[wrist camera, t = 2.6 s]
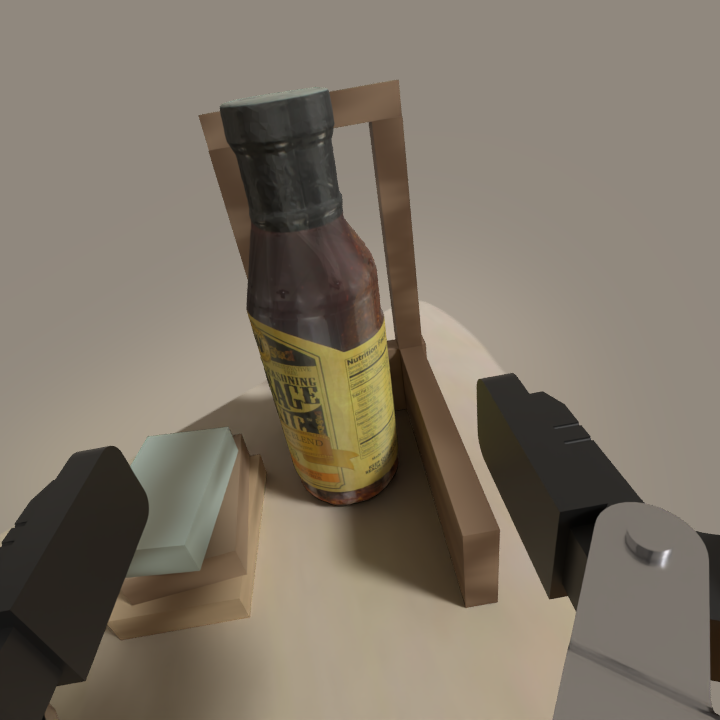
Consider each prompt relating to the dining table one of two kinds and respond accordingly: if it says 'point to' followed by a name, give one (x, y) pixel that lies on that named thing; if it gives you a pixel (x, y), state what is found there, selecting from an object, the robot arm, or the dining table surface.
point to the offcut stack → (193, 534)
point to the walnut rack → (398, 332)
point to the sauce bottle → (313, 298)
